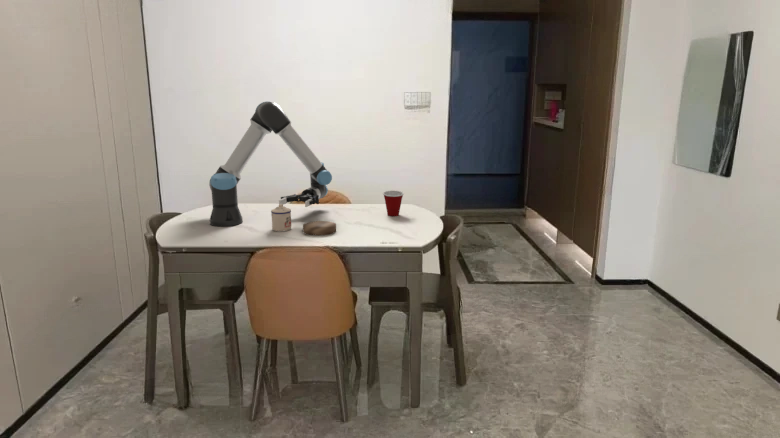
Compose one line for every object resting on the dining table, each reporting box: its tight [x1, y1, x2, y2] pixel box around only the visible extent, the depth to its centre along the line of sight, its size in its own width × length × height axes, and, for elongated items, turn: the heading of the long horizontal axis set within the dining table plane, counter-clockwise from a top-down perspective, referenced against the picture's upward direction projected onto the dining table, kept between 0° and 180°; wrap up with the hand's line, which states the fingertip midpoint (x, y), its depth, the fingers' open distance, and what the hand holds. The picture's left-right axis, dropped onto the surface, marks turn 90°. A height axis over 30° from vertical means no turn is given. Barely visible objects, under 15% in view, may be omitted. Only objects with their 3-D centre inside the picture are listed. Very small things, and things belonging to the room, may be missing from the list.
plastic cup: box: [382, 190, 405, 217], centre depth 277 cm, size 11×11×12 cm
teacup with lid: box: [270, 203, 292, 232], centre depth 250 cm, size 12×9×12 cm
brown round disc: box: [302, 220, 337, 236], centre depth 246 cm, size 15×15×3 cm
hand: (292, 203), depth 259 cm, fingers open, 13 cm apart
